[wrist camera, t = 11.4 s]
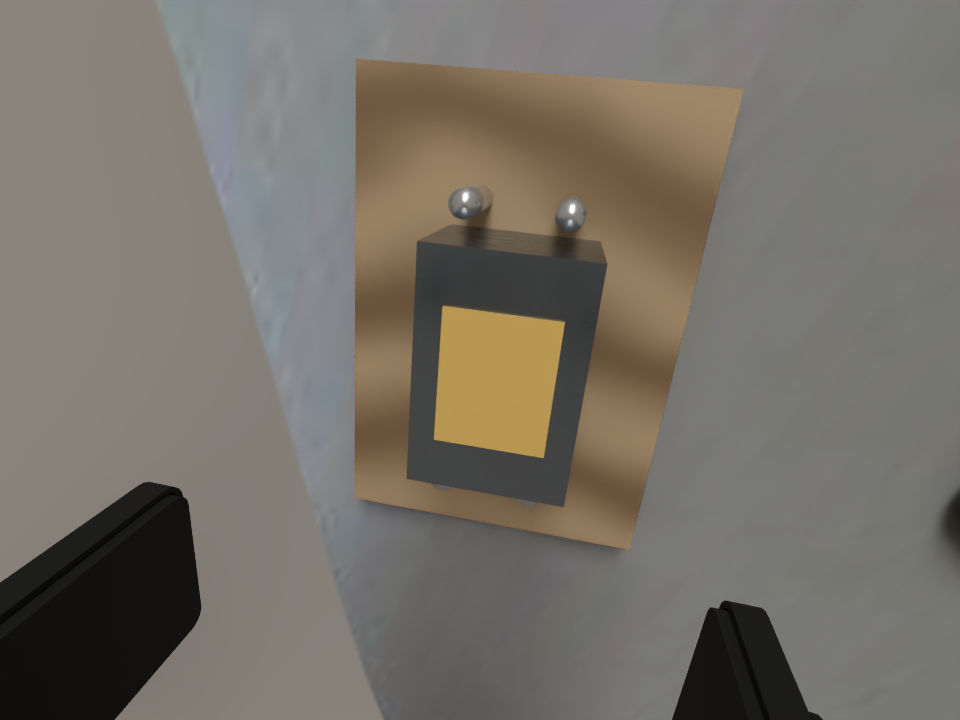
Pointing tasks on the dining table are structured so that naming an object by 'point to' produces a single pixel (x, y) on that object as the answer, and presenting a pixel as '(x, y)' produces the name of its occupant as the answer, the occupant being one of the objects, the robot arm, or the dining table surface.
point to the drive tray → (539, 210)
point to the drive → (501, 359)
